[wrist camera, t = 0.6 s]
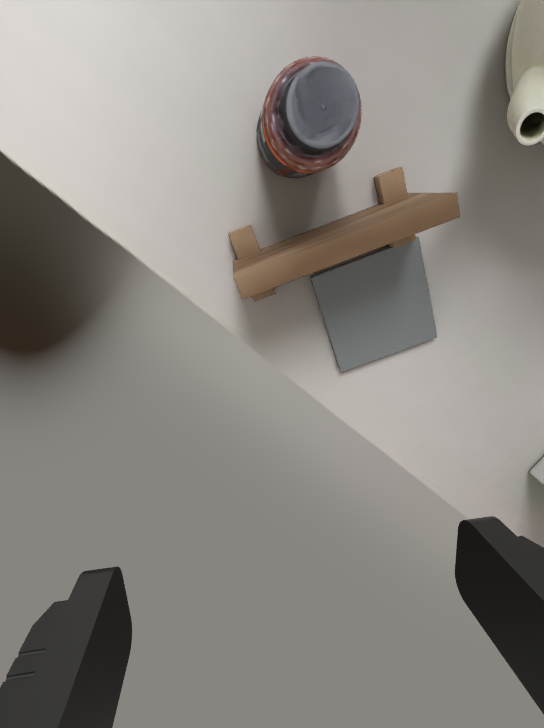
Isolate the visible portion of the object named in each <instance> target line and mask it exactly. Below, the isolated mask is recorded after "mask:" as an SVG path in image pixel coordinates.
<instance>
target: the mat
mask: <svg viewBox="0 0 544 728" xmlns="http://www.w3.org/2000/svg"><path fill="white" fill-rule="evenodd" d="M311 280H312V284H313V287H314V290H315V293H316V296H317V300H318V303H319V306H320V309H321V312H322V315H323V319H324V322H325V325H326V328H327V331H328V335H329V338H330V341H331V344H332V347H333V350H334V354H335V357H336V360H337V363H338V366H339V369H340V371H341V372H344V371H346V370H349V369H352V368H355V367H357V366H360V365H363V364H366V363H368V362H371V361H374V360H376V359H379V358H382V357H385V356H387V355H390V354H393V353H396V352H398V351H401V350H404V349H407V348H409V347H412V346H415V345H418V344H420V343H423V342H426V341H429V340H431V339H434V338H437V333H436V327H435V322H434V317H433V311H432V306H431V301H430V295H429V290H428V285H427V279H426V274H425V269H424V263H423V258H422V253H421V247H420V242H419V237H416V240H415V241H413V242H410V243H408V244H405V245H402V246H400V247H397V248H391V247H387V248H385V249H382V250H379V251H377V252H374V253H372V254H369V255H366V256H364V257H361V258H358V259H356V260H353V261H350V262H348V263H345V264H343V265H340V266H337V267H335V268H332V269H329V270H327V271H324V272H321V273H319V274H316V275H314V276H311Z"/></svg>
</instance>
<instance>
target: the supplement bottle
mask: <svg viewBox="0 0 544 728" xmlns="http://www.w3.org/2000/svg"><path fill="white" fill-rule="evenodd" d="M360 122H361V101H360V95H359V92H358V89H357V86H356V84H355V82H354V80H353V78H352V77H351V76H350V74H349V73H348V72H347V71H346V70H345V69H344V68H343V67H342V66H340V65H339V64H338V63H336V62H334V61H333V60H330V59H327V58H322V57H314V56H313V57H306V58H303V59H299V60H297V61H295V62H293V63H291V64H290V65H288V66H287V67H286V68H284V69H283V70H282V71H281V73H280V74H279V75H278V76H277V77H276V79H275V80H274V82H273V83H272V85H271V87H270V89H269V91H268V94H267V96H266V99H265V102H264V105H263V108H262V111H261V114H260V117H259V120H258V125H257V144H258V149H259V152H260V154H261V156H262V158H263V160H264V162H265V163H266V164H267V165H268V166H269V167H270V168H271V169H272V170H273V171H274V172H276V173H277V174H279V175H282V176H284V177H289V178H299V177H304V176H307V175H311V174H313V173H316V172H320V171H323V170H325V169H327V168H330V167H331V166H333V165H335V164H336V163H338V162H339V161H340V160H341V159H342V158H343V157H344V156H345V155H346V154H347V153H348V151H349V150H350V148H351V147H352V145H353V143H354V141H355V139H356V137H357V134H358V131H359V128H360Z"/></svg>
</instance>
